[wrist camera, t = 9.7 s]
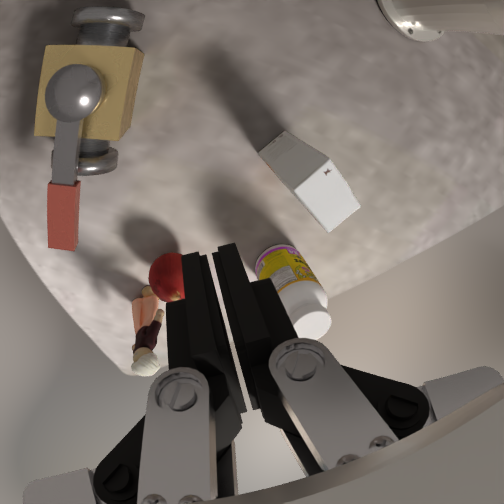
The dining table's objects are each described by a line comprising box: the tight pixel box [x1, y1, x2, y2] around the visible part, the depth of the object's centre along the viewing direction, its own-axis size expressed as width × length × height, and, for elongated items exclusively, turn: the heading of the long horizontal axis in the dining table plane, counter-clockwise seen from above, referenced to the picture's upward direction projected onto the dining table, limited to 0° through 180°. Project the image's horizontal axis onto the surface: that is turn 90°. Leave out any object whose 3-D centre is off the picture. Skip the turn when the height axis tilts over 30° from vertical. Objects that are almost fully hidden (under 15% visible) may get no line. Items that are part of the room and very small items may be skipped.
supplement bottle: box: [255, 244, 331, 340], centre depth 39 cm, size 7×7×13 cm
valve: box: [34, 6, 145, 176], centre depth 24 cm, size 15×8×8 cm, turn 166°
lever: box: [45, 64, 106, 251], centre depth 22 cm, size 16×5×2 cm, turn 164°
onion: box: [148, 252, 185, 302], centre depth 37 cm, size 6×6×8 cm
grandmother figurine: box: [131, 286, 164, 376], centre depth 37 cm, size 8×4×13 cm, turn 153°
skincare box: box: [258, 131, 361, 233], centre depth 32 cm, size 6×4×12 cm
